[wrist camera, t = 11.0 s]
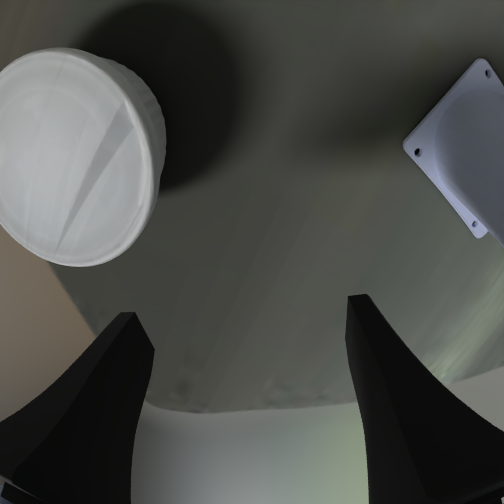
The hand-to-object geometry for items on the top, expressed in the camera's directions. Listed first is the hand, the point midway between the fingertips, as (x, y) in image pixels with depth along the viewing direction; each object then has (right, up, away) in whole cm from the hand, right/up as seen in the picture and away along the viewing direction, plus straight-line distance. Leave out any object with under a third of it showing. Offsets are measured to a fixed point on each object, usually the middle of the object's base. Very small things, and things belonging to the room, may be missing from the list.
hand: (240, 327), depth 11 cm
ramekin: (-9, +9, +6) cm, 14 cm away
